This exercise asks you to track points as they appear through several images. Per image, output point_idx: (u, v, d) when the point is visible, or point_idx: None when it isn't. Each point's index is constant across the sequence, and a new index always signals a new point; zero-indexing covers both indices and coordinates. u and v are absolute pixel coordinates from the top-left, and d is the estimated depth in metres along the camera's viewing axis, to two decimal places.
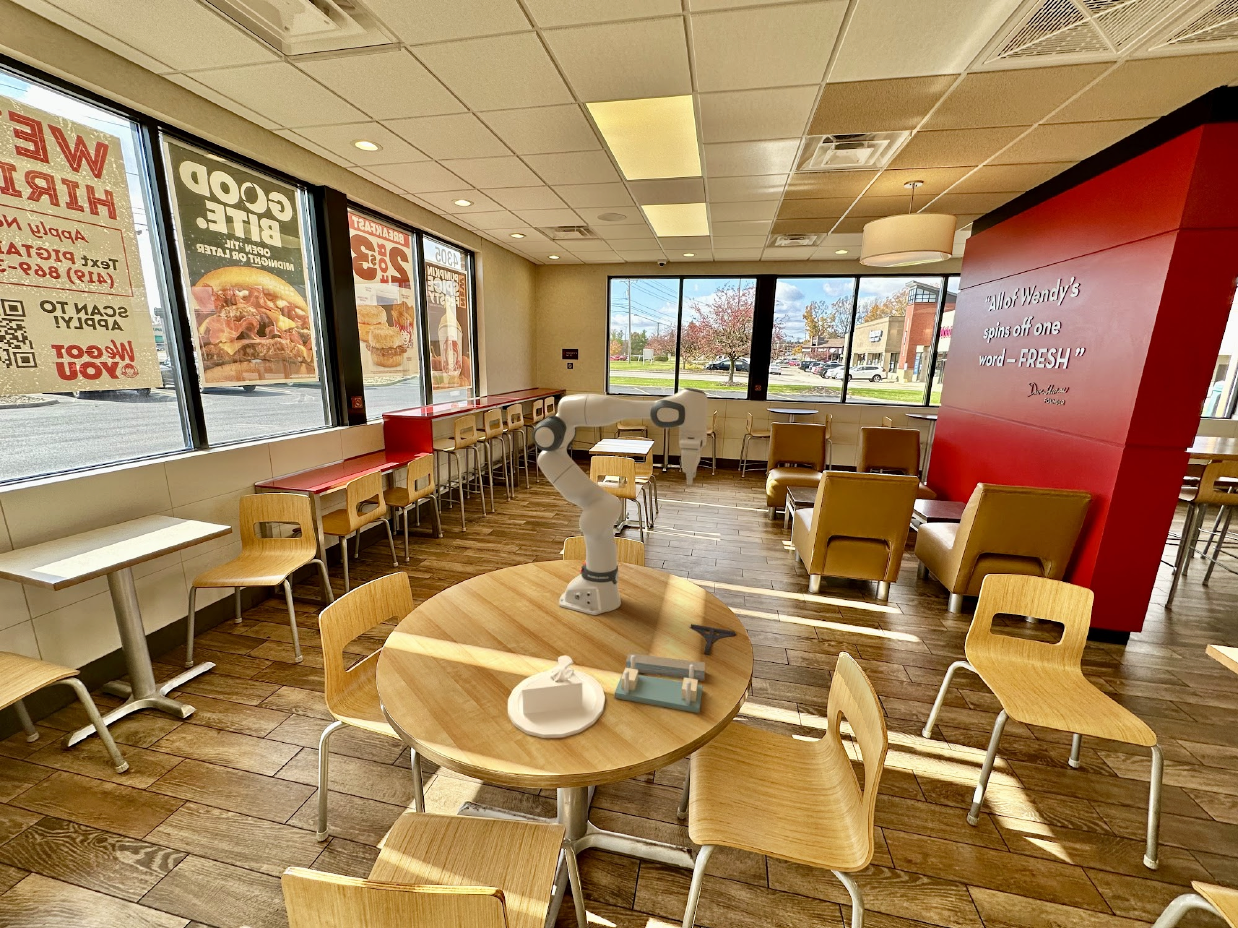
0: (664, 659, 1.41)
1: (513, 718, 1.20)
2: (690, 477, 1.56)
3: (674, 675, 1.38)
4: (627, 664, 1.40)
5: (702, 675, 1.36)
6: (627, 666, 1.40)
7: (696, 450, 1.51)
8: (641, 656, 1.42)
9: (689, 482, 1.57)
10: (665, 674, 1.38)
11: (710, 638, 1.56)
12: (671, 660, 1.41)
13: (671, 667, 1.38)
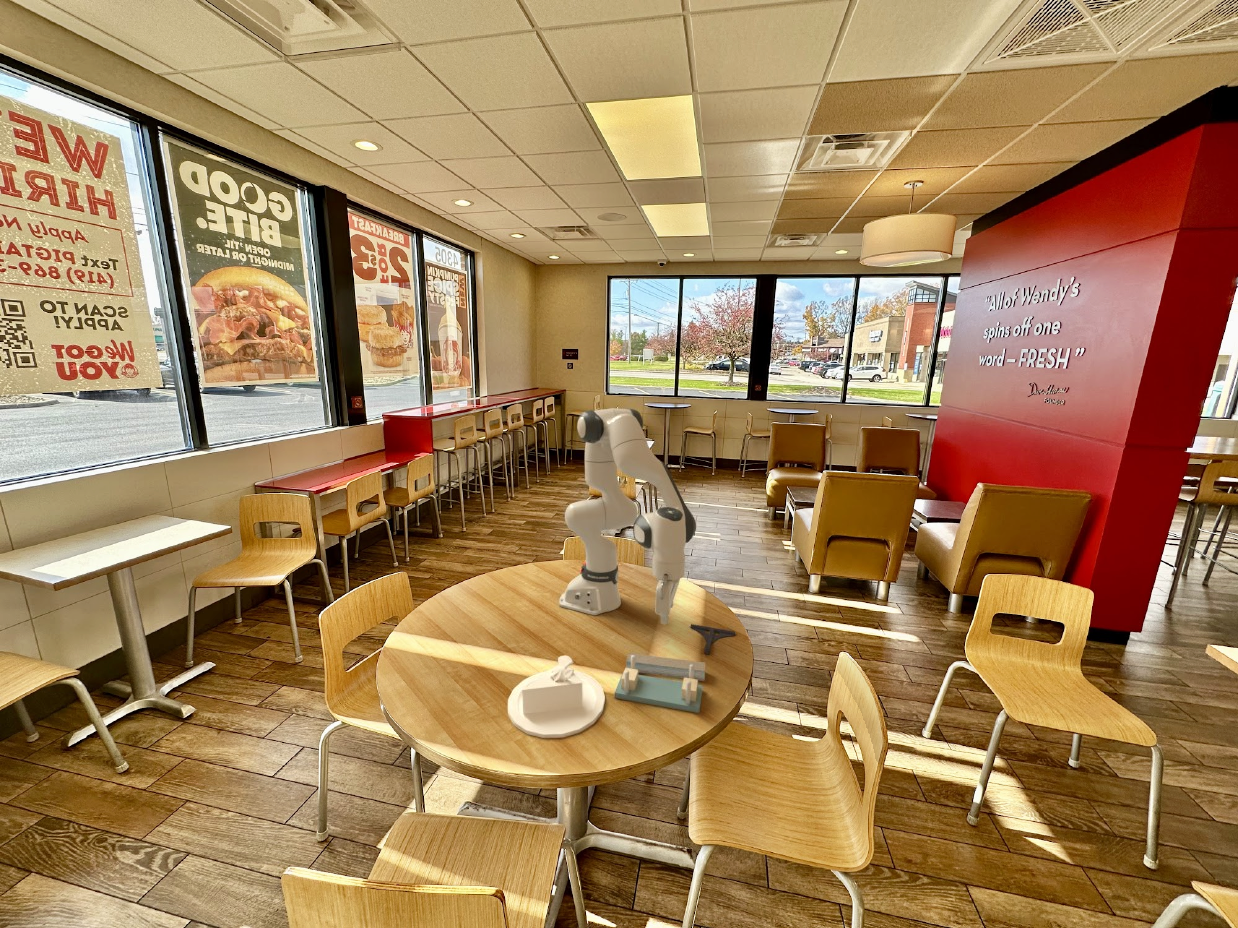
0: (664, 659, 1.41)
1: (513, 718, 1.20)
2: None
3: (674, 675, 1.38)
4: (627, 664, 1.40)
5: (702, 675, 1.36)
6: (627, 666, 1.40)
7: None
8: (641, 656, 1.42)
9: None
10: (665, 674, 1.38)
11: (710, 638, 1.56)
12: (671, 660, 1.41)
13: (671, 667, 1.38)
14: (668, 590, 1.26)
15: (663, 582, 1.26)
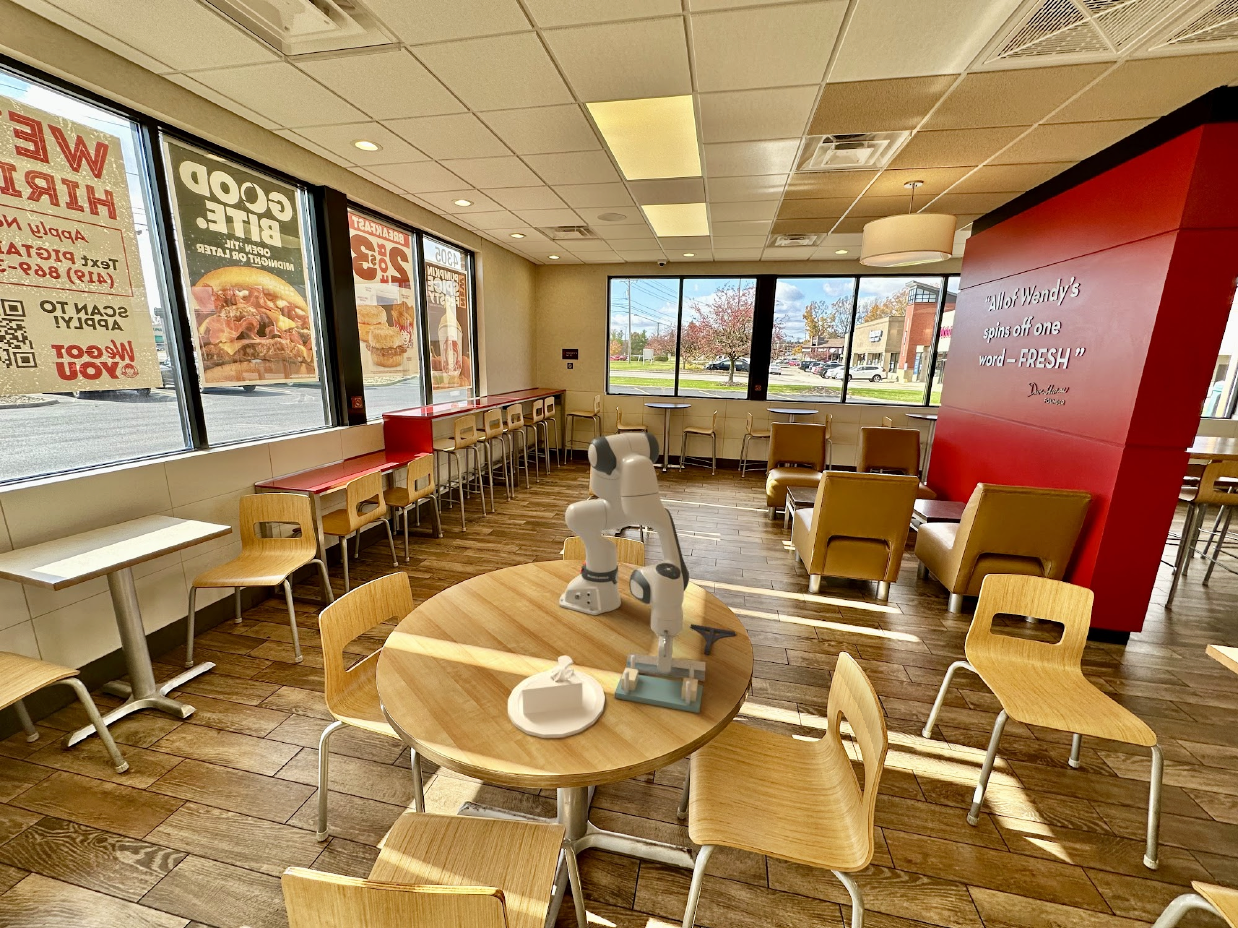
0: None
1: (513, 718, 1.20)
2: None
3: (675, 675, 1.38)
4: (627, 664, 1.40)
5: (703, 675, 1.36)
6: (627, 666, 1.40)
7: None
8: (642, 656, 1.42)
9: None
10: (666, 674, 1.38)
11: (710, 638, 1.56)
12: None
13: (671, 667, 1.38)
14: (670, 647, 1.29)
15: (665, 640, 1.29)
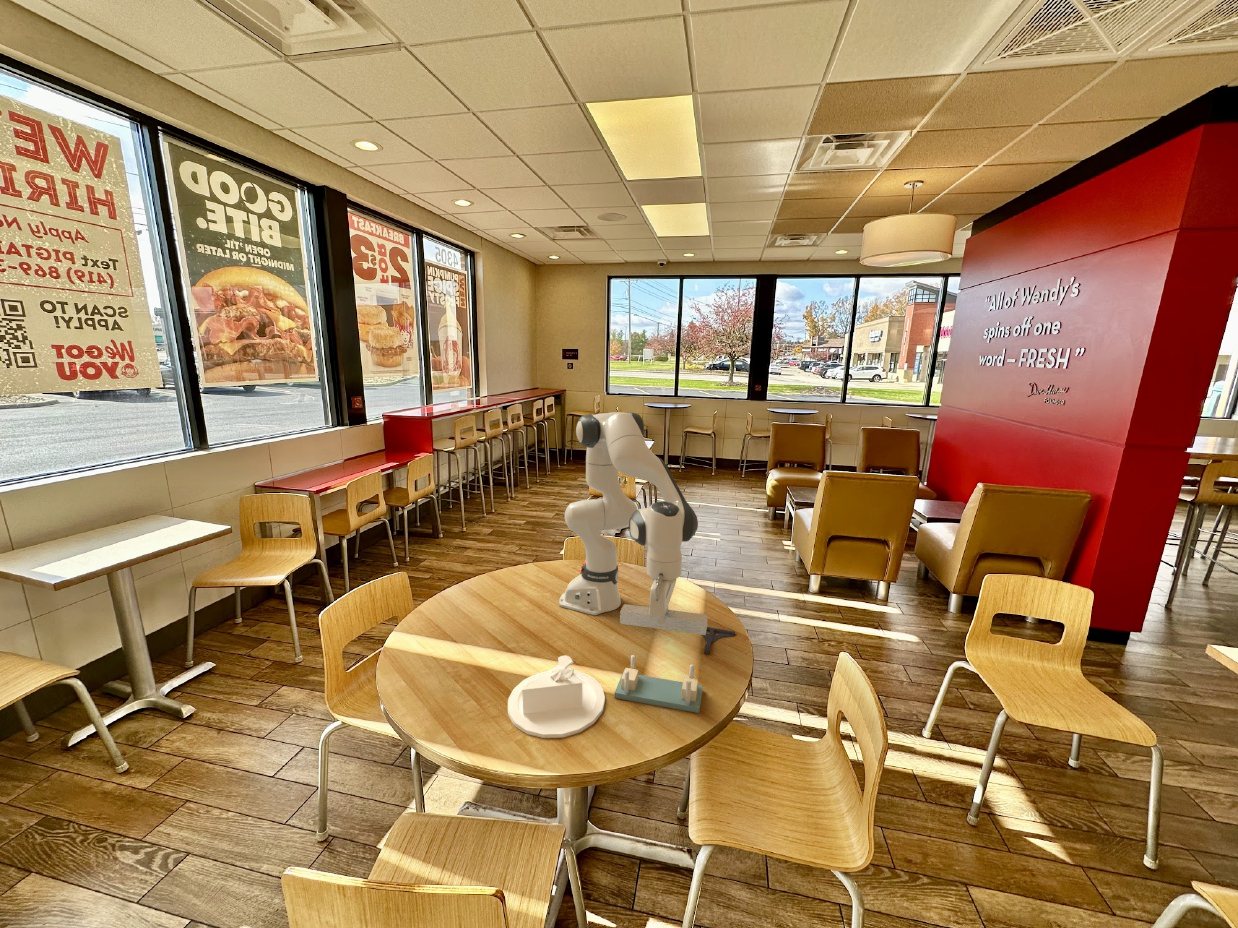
0: None
1: (513, 718, 1.20)
2: None
3: (673, 627, 1.25)
4: (621, 614, 1.28)
5: (703, 627, 1.23)
6: (621, 617, 1.28)
7: None
8: (637, 607, 1.30)
9: None
10: (663, 626, 1.26)
11: (710, 638, 1.56)
12: (670, 611, 1.28)
13: (669, 618, 1.25)
14: (663, 591, 1.16)
15: (658, 582, 1.16)
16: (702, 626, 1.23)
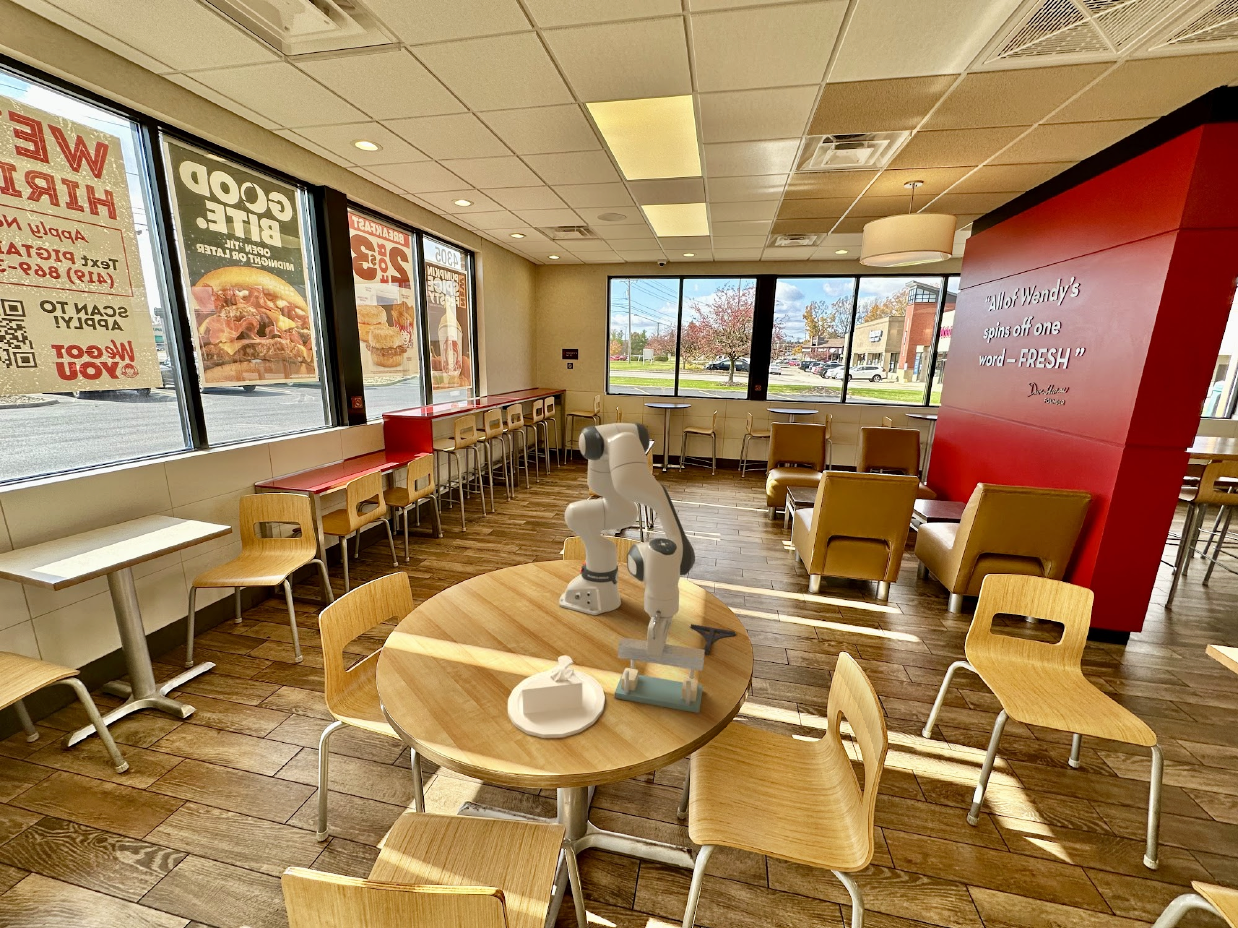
0: None
1: (513, 718, 1.20)
2: None
3: (670, 662, 1.26)
4: (619, 649, 1.29)
5: (700, 663, 1.24)
6: (619, 651, 1.29)
7: None
8: (635, 641, 1.31)
9: None
10: (660, 661, 1.27)
11: (710, 638, 1.56)
12: (667, 646, 1.29)
13: (666, 653, 1.26)
14: (661, 629, 1.17)
15: (655, 621, 1.17)
16: (699, 662, 1.24)
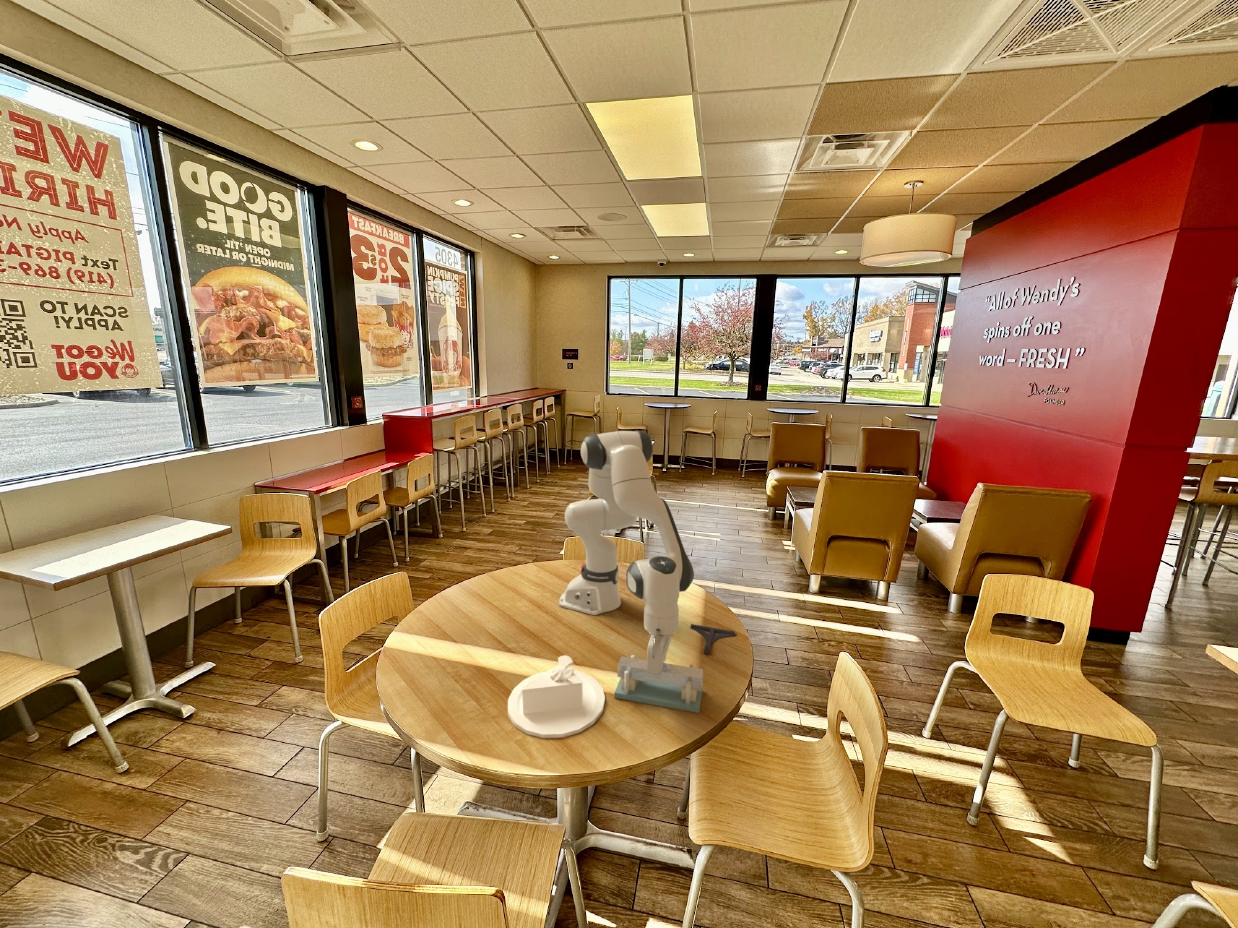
0: None
1: (513, 718, 1.21)
2: None
3: (669, 682, 1.27)
4: (619, 668, 1.30)
5: (699, 683, 1.25)
6: (619, 670, 1.31)
7: None
8: (635, 660, 1.32)
9: None
10: (659, 680, 1.28)
11: (710, 638, 1.56)
12: (666, 665, 1.30)
13: (665, 673, 1.27)
14: (660, 648, 1.18)
15: (655, 640, 1.18)
16: (698, 682, 1.25)
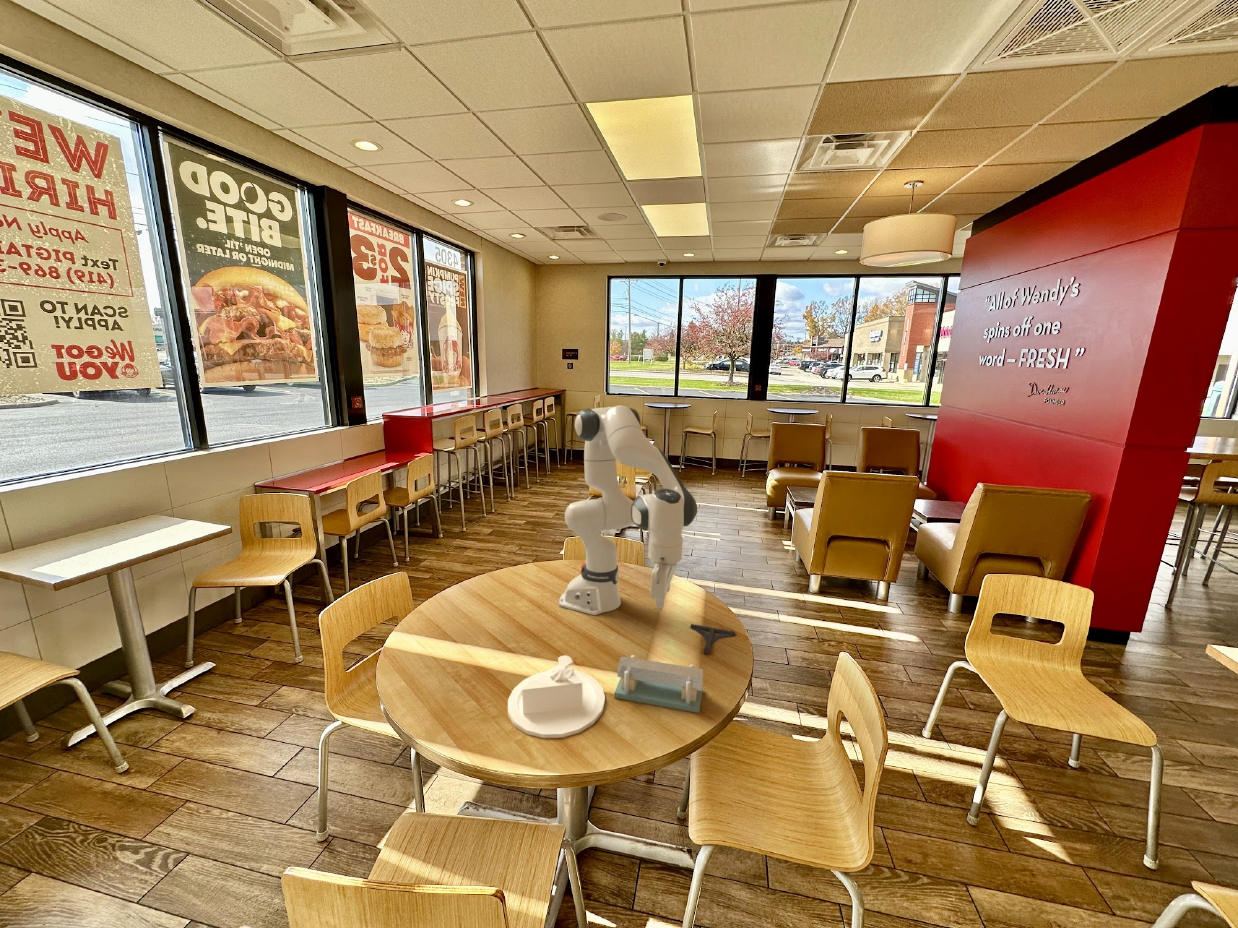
0: (659, 664, 1.30)
1: (513, 718, 1.21)
2: None
3: (669, 682, 1.27)
4: (619, 668, 1.30)
5: (699, 683, 1.25)
6: (619, 670, 1.31)
7: None
8: (635, 660, 1.32)
9: None
10: (659, 680, 1.28)
11: (710, 638, 1.56)
12: (666, 665, 1.30)
13: (665, 673, 1.27)
14: (664, 574, 1.22)
15: (659, 566, 1.22)
16: (698, 682, 1.25)
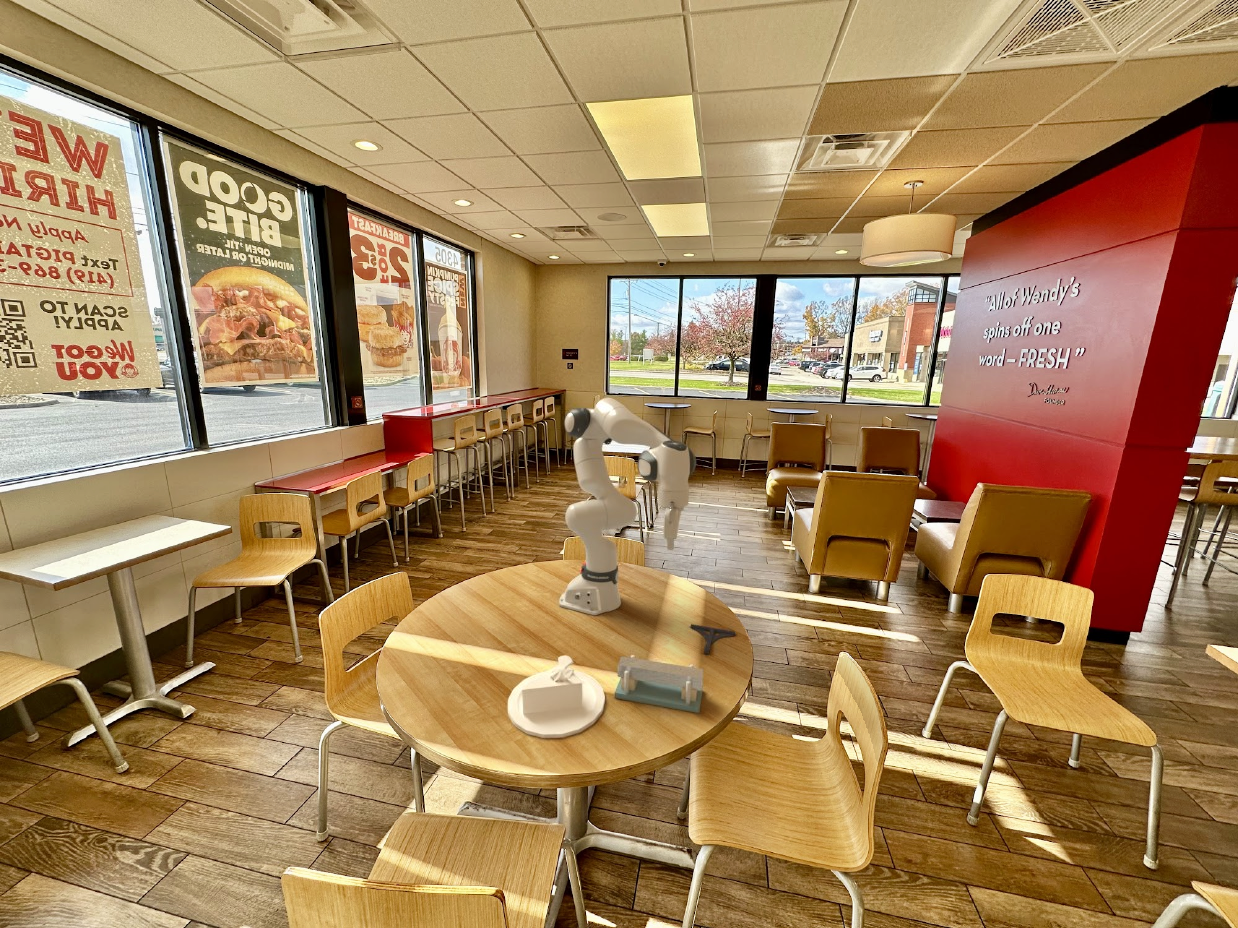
0: (659, 664, 1.30)
1: (513, 718, 1.21)
2: None
3: (669, 682, 1.27)
4: (619, 668, 1.30)
5: (699, 683, 1.25)
6: (619, 670, 1.31)
7: None
8: (635, 660, 1.32)
9: None
10: (659, 680, 1.28)
11: (710, 638, 1.56)
12: (666, 665, 1.30)
13: (665, 673, 1.27)
14: (676, 515, 1.34)
15: (671, 507, 1.34)
16: (698, 682, 1.25)
